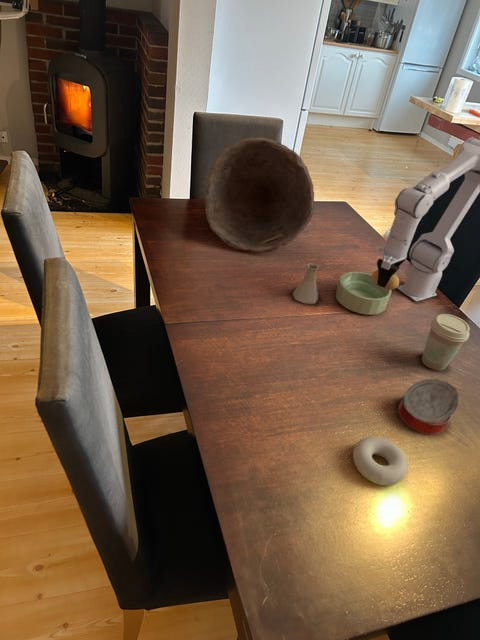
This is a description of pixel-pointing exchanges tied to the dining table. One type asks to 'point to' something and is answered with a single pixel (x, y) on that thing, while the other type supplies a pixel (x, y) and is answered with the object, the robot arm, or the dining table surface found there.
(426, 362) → the coffee cup
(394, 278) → the potato
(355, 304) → the celadon bowl
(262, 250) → the bowl
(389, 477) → the donut
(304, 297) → the flask
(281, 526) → the dining table surface
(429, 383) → the canned food
